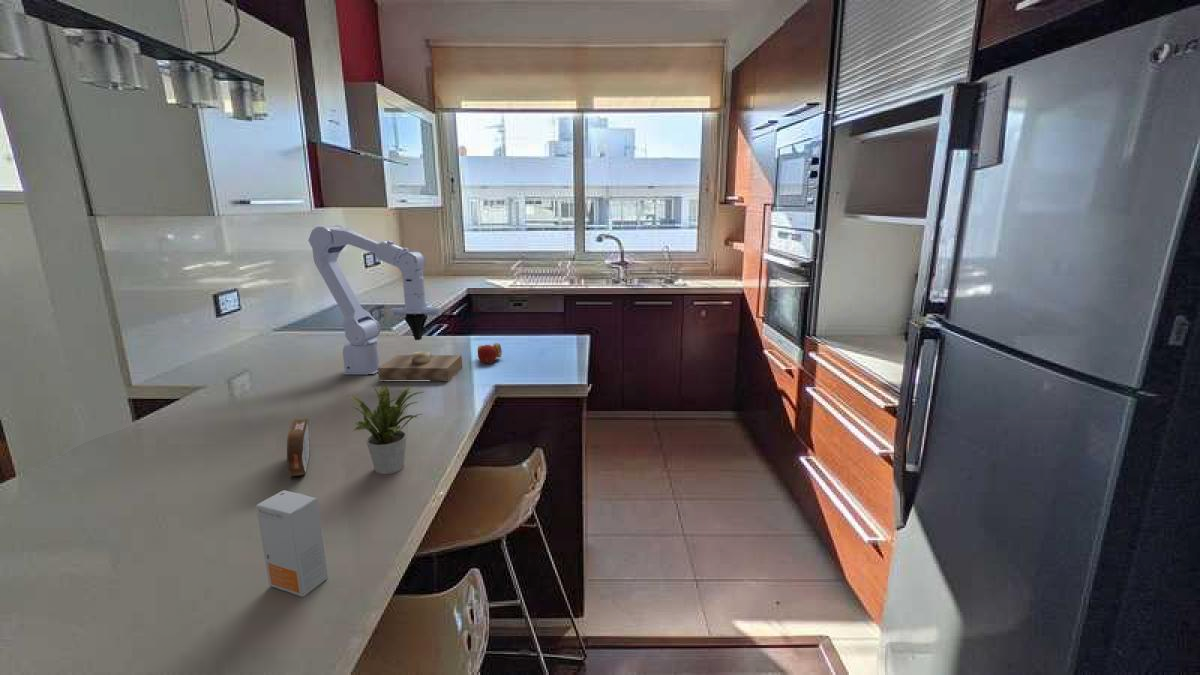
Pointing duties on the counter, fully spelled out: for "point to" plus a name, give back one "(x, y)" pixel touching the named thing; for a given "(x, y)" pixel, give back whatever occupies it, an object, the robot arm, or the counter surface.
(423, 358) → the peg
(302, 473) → the tin
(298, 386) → the counter surface
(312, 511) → the skincare box
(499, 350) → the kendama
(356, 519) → the counter surface
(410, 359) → the board
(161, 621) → the counter surface
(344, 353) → the robot arm
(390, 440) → the house plant
